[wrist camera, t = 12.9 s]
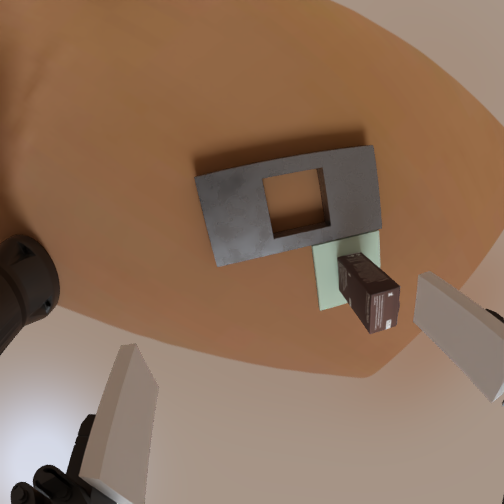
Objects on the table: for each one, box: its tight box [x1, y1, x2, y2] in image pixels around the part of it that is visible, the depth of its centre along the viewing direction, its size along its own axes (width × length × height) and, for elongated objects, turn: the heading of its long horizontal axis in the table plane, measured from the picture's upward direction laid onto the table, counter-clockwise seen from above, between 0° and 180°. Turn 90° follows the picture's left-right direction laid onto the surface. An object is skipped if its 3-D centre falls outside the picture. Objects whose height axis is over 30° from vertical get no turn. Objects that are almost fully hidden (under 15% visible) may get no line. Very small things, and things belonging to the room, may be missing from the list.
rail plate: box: [194, 145, 382, 267], centre depth 37 cm, size 24×12×2 cm, turn 102°
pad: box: [311, 230, 380, 311], centre depth 42 cm, size 11×11×1 cm
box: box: [337, 252, 400, 334], centre depth 36 cm, size 6×4×12 cm
